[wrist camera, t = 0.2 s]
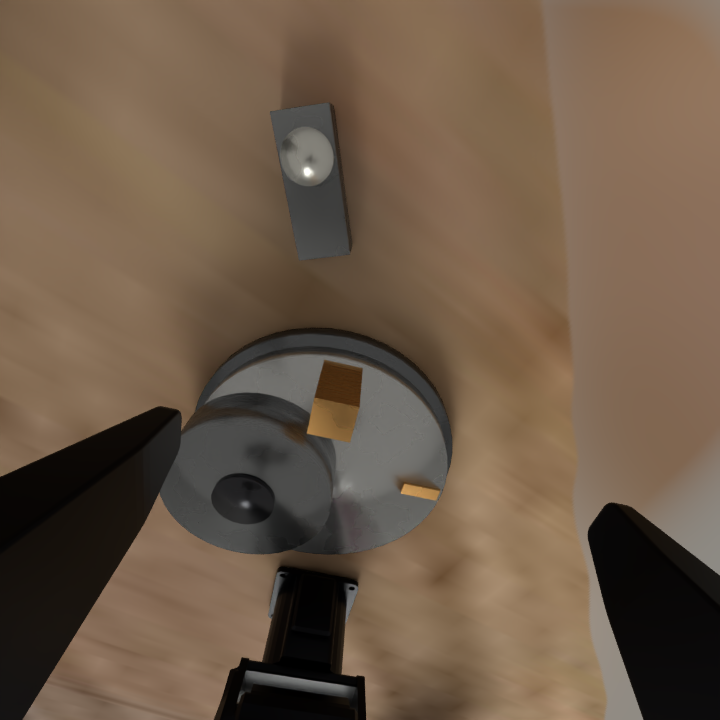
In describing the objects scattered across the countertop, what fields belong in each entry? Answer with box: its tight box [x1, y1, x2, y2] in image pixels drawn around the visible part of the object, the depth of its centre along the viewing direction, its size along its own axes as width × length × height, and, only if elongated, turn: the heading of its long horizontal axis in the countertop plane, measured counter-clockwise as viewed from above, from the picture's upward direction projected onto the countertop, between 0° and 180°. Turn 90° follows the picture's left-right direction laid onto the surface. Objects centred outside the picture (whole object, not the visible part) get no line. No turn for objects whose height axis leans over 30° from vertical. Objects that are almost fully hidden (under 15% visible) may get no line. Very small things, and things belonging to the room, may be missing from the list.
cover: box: [160, 392, 336, 554], centre depth 23 cm, size 9×9×3 cm
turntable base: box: [195, 328, 452, 476], centre depth 26 cm, size 16×16×1 cm
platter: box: [205, 346, 447, 554], centre depth 23 cm, size 15×15×5 cm
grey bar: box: [270, 103, 352, 260], centre depth 18 cm, size 6×2×2 cm, turn 7°
